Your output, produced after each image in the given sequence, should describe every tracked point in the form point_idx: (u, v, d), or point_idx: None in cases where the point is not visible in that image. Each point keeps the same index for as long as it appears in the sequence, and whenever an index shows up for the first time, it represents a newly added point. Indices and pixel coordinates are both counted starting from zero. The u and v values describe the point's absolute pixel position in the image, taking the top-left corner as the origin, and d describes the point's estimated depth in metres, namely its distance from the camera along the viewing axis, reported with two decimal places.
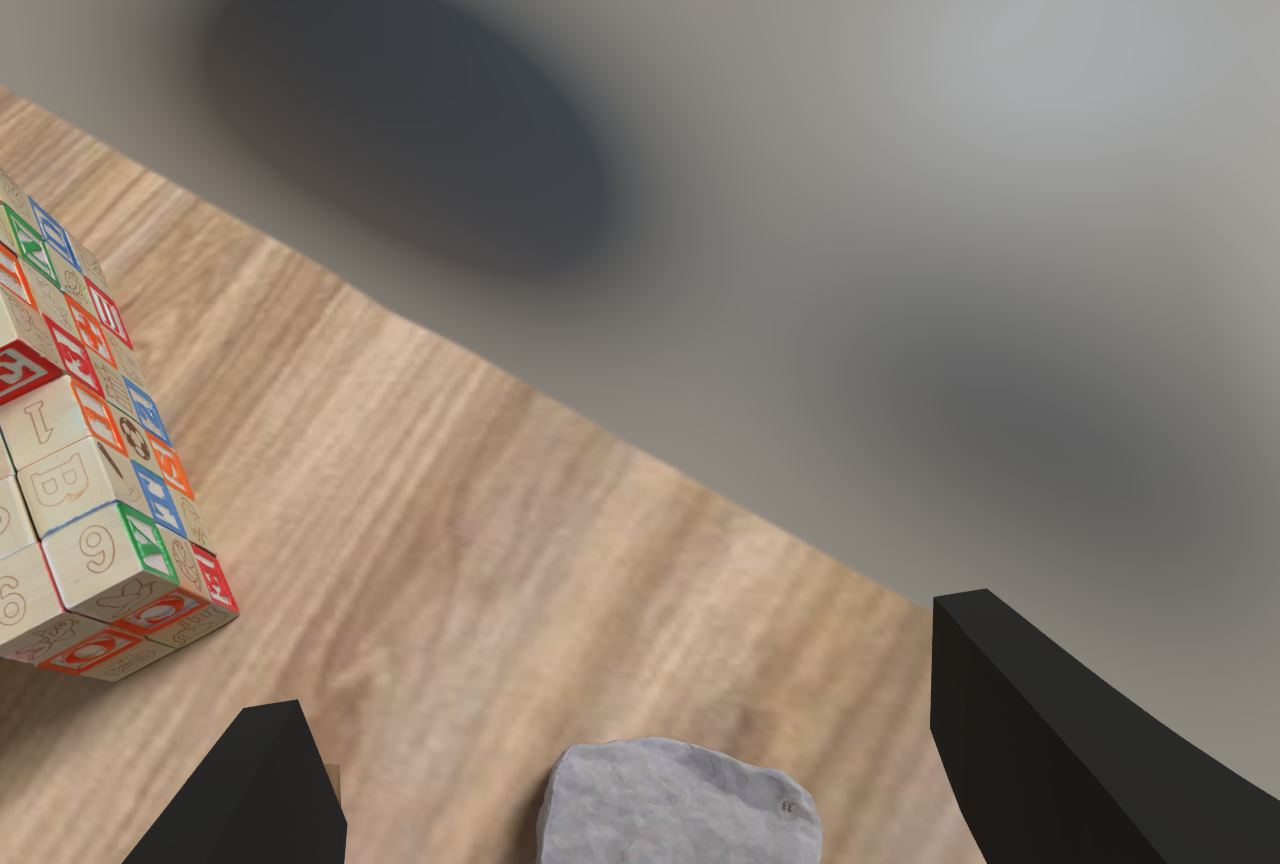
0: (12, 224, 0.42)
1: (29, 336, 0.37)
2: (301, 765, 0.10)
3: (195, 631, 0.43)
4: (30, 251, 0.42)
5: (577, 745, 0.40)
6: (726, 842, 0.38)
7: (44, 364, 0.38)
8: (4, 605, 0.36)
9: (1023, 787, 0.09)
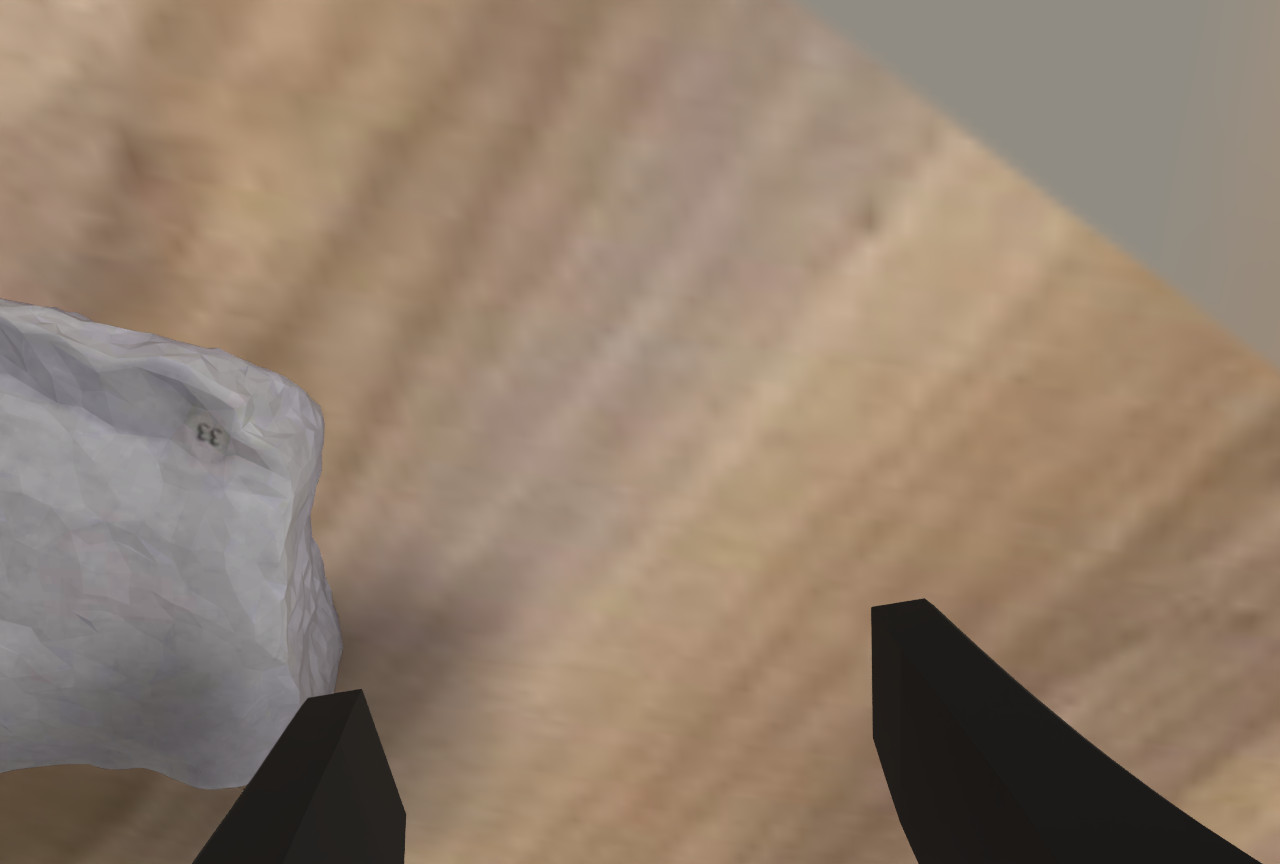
0: None
1: None
2: (367, 755, 0.10)
3: None
4: None
5: None
6: (62, 518, 0.17)
7: None
8: None
9: (951, 799, 0.09)
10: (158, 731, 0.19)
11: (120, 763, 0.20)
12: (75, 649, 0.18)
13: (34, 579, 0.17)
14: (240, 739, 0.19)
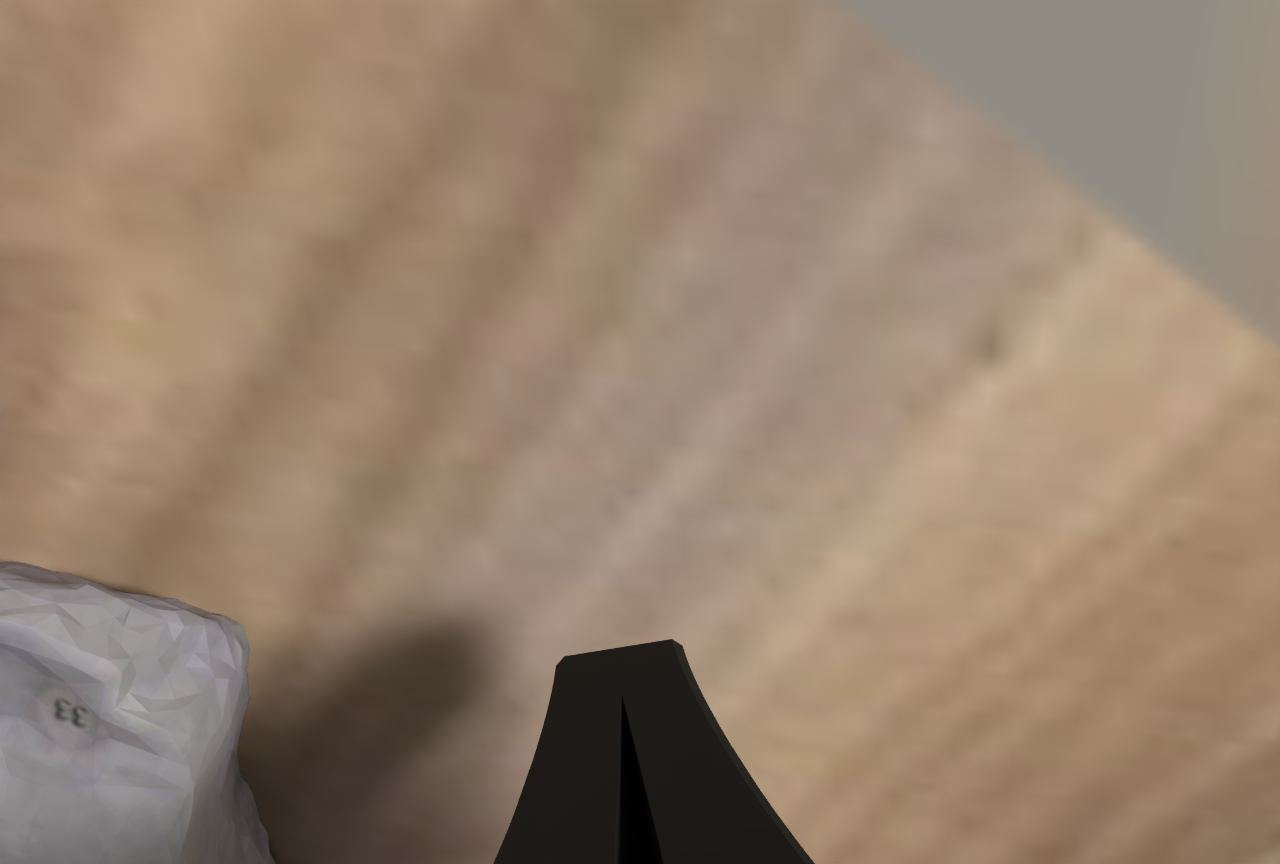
0: None
1: None
2: None
3: None
4: None
5: None
6: None
7: None
8: None
9: (655, 848, 0.09)
10: None
11: None
12: None
13: None
14: None
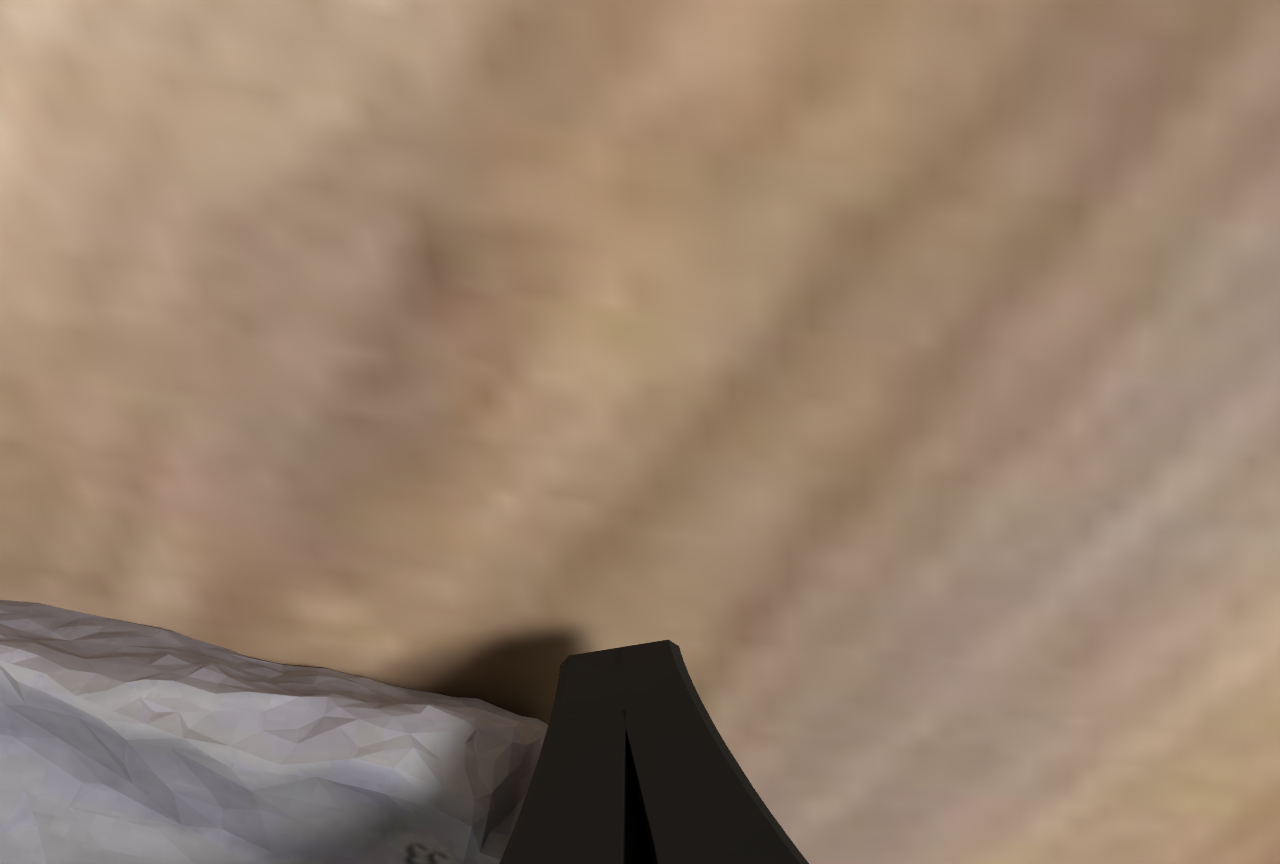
0: None
1: None
2: None
3: None
4: None
5: None
6: None
7: None
8: None
9: (650, 849, 0.09)
10: None
11: None
12: None
13: None
14: None
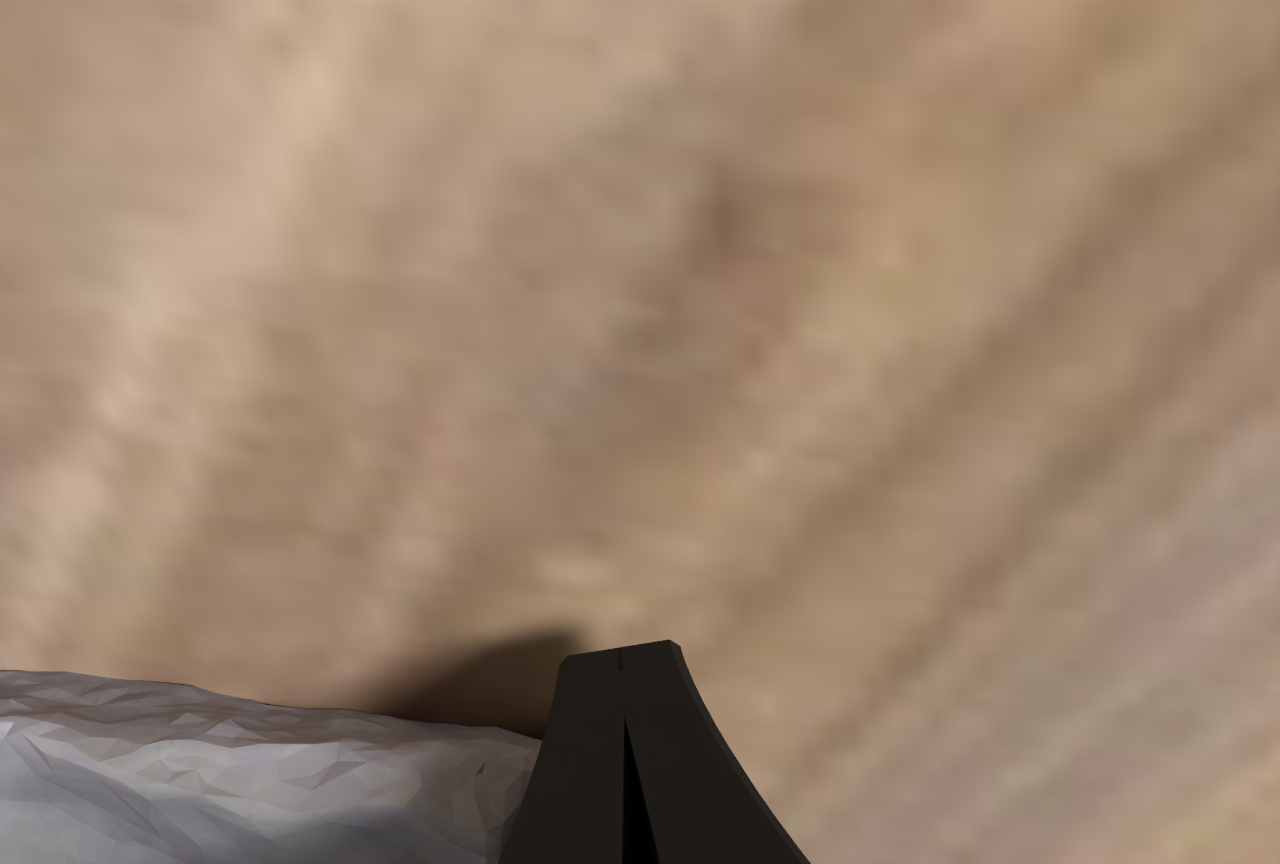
0: None
1: None
2: None
3: None
4: None
5: None
6: None
7: None
8: None
9: (652, 848, 0.09)
10: None
11: None
12: None
13: None
14: None
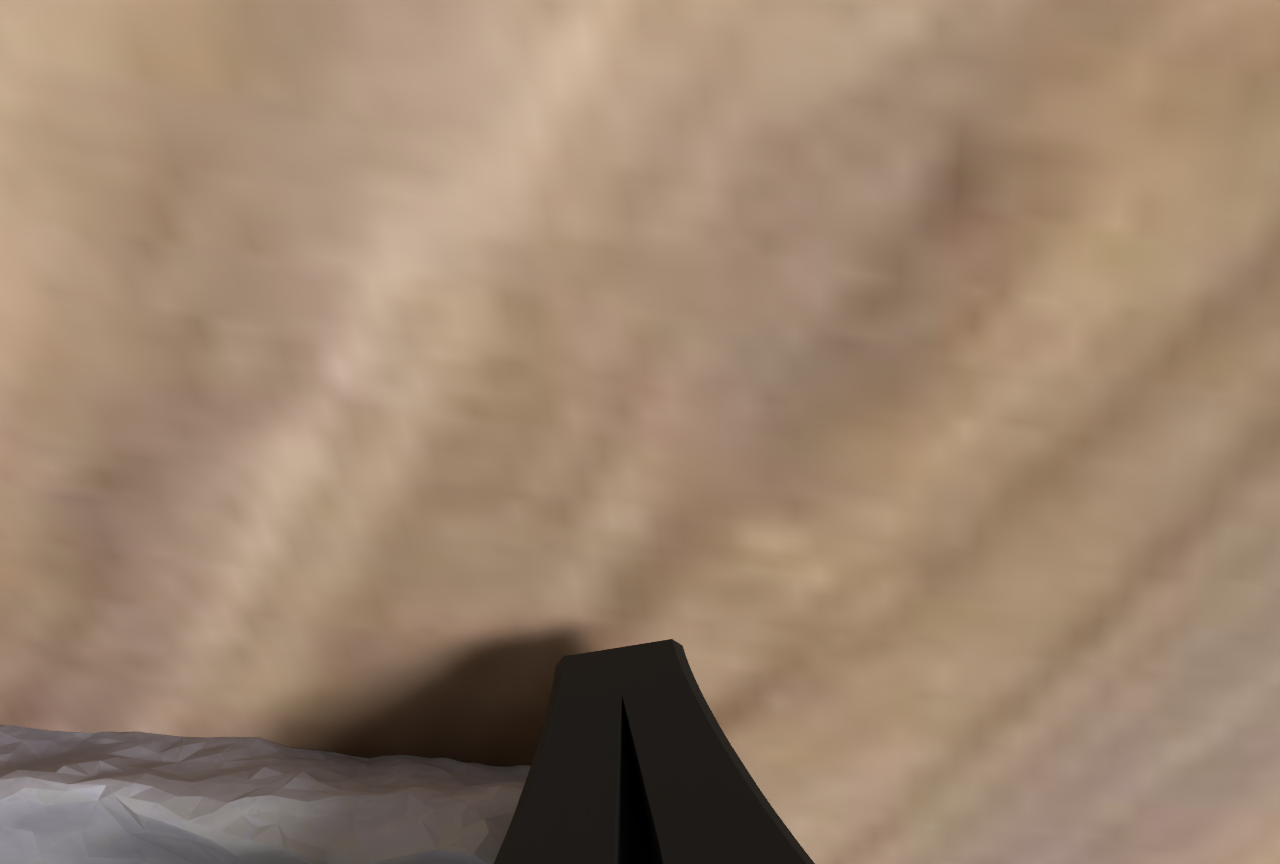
0: None
1: None
2: None
3: None
4: None
5: None
6: None
7: None
8: None
9: (654, 848, 0.09)
10: None
11: None
12: None
13: None
14: None
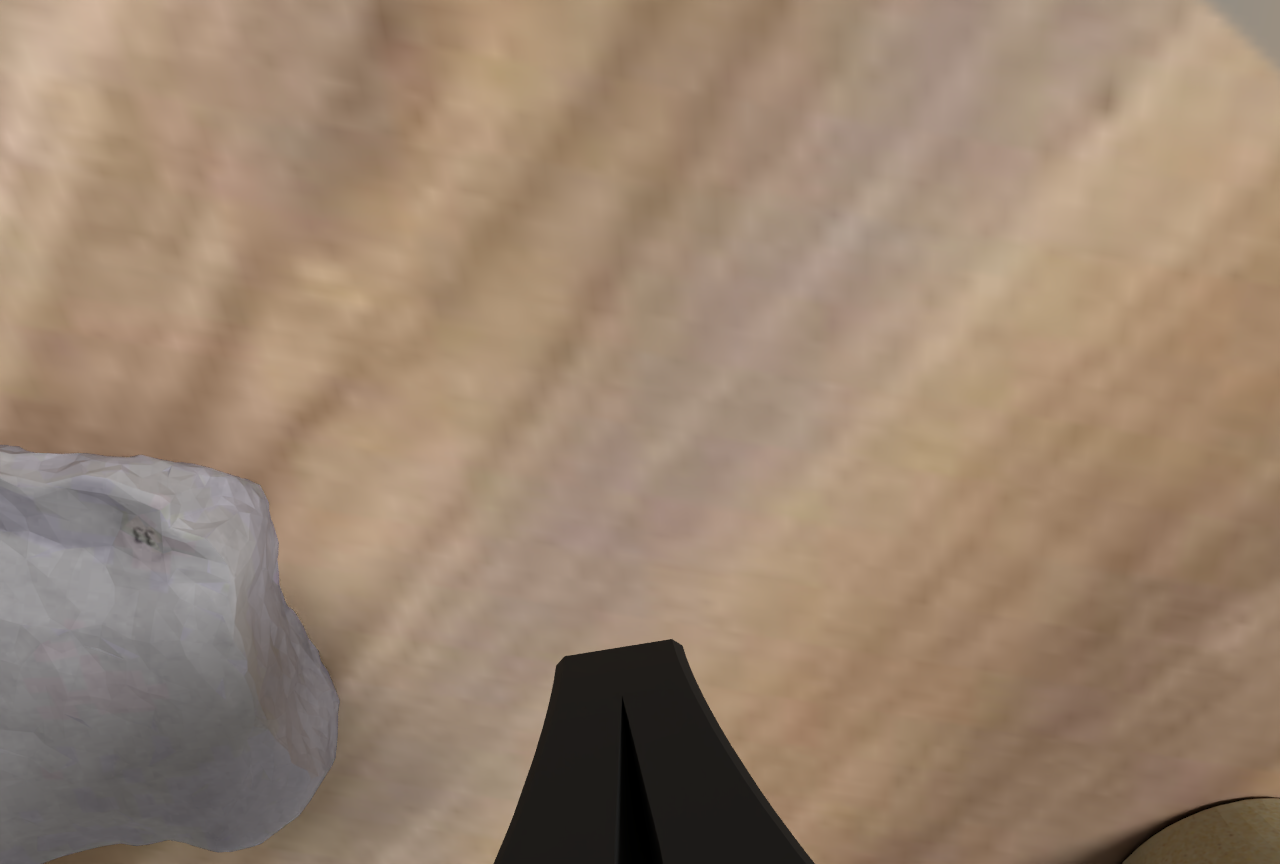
0: None
1: None
2: None
3: None
4: None
5: None
6: (32, 633, 0.18)
7: None
8: None
9: (655, 848, 0.09)
10: (170, 806, 0.20)
11: (147, 839, 0.21)
12: (76, 745, 0.19)
13: (23, 691, 0.19)
14: (245, 803, 0.21)
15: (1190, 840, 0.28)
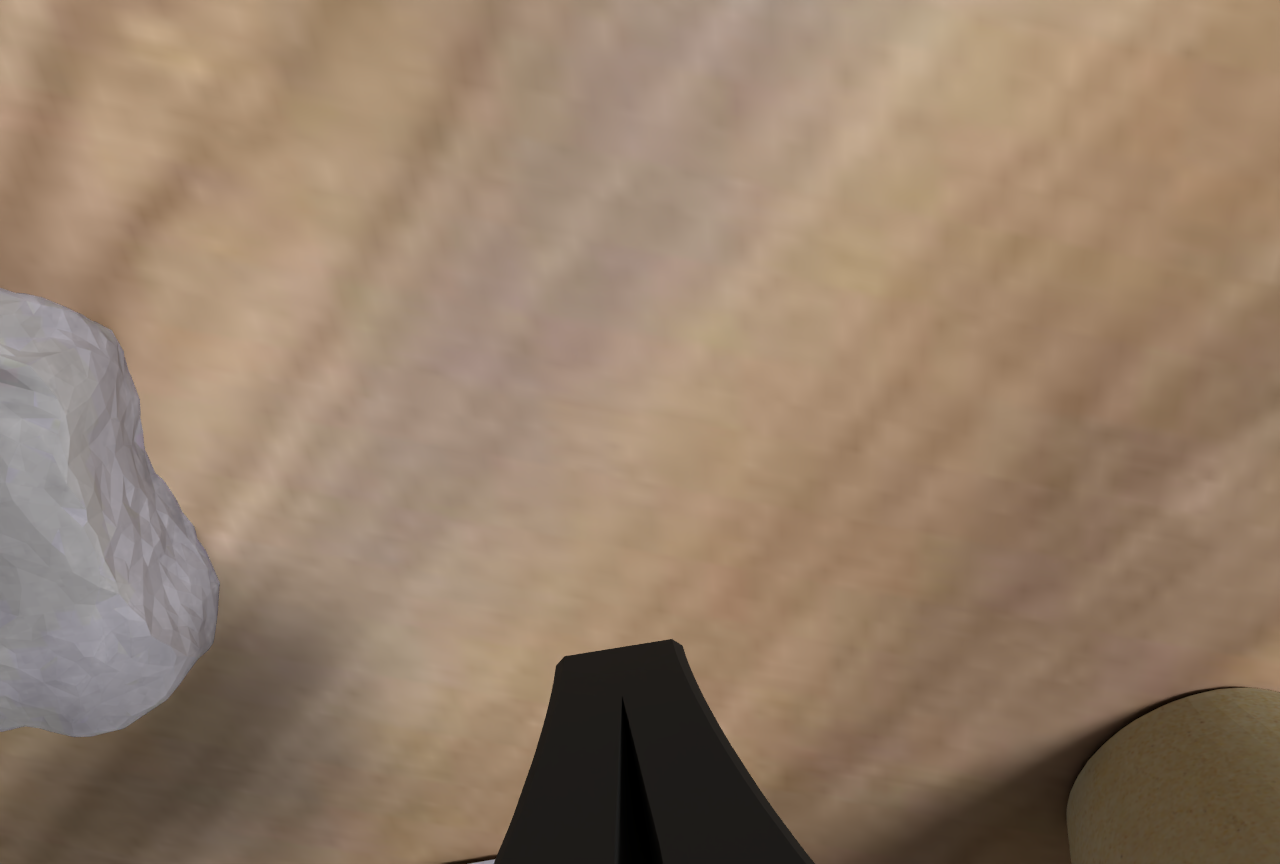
0: None
1: None
2: None
3: None
4: None
5: None
6: None
7: None
8: None
9: (655, 848, 0.09)
10: (17, 684, 0.19)
11: None
12: None
13: None
14: (101, 680, 0.19)
15: (1158, 731, 0.25)
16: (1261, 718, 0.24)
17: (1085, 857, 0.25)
